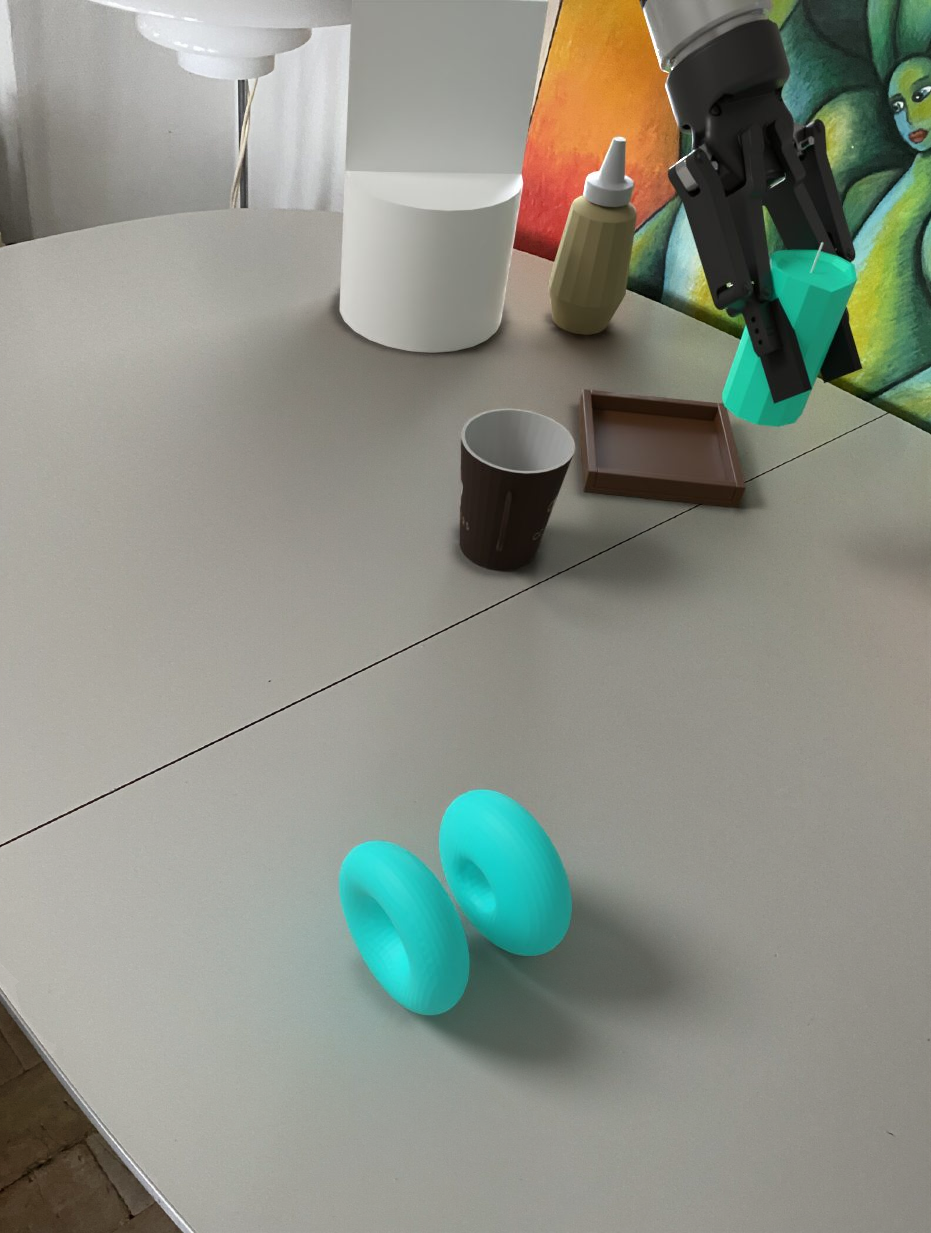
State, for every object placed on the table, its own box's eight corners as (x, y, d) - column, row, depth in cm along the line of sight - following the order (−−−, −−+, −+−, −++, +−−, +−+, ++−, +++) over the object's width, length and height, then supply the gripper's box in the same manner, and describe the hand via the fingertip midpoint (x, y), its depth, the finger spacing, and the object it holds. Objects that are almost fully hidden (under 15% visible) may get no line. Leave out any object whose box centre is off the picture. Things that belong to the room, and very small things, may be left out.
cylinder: (332, 272, 117) (342, -35, 96) (485, 273, 119) (528, -28, 98) (347, 352, 106) (362, 25, 85) (515, 352, 108) (571, 32, 87)
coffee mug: (480, 501, 91) (498, 395, 84) (568, 541, 88) (594, 435, 81) (405, 568, 85) (416, 460, 77) (497, 614, 82) (518, 507, 74)
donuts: (562, 971, 62) (600, 874, 54) (421, 1056, 58) (442, 964, 50) (461, 851, 67) (483, 747, 59) (326, 920, 63) (331, 818, 56)
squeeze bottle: (632, 330, 113) (680, 146, 99) (576, 348, 110) (617, 161, 96) (582, 297, 117) (621, 117, 103) (526, 314, 114) (559, 130, 100)
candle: (716, 414, 78) (772, 251, 69) (726, 376, 82) (781, 216, 73) (798, 434, 77) (866, 270, 68) (805, 394, 81) (870, 234, 72)
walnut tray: (719, 422, 102) (725, 403, 100) (738, 507, 93) (746, 487, 91) (577, 408, 102) (582, 388, 100) (583, 491, 93) (588, 471, 92)
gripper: (762, 62, 78) (852, 371, 82) (584, 99, 71) (693, 436, 75) (849, -3, 72) (942, 336, 76) (663, 30, 64) (777, 404, 68)
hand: (818, 385), depth 75 cm, fingers closed on candle, 5 cm apart
